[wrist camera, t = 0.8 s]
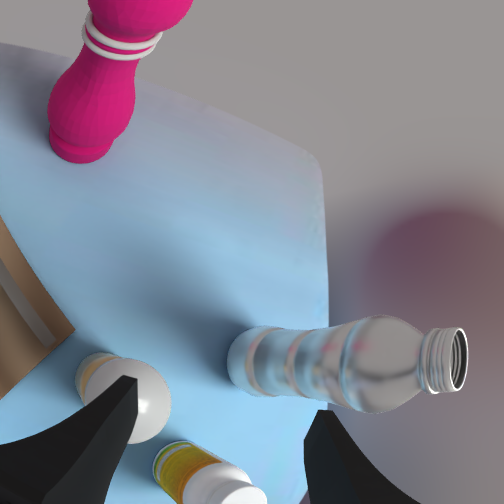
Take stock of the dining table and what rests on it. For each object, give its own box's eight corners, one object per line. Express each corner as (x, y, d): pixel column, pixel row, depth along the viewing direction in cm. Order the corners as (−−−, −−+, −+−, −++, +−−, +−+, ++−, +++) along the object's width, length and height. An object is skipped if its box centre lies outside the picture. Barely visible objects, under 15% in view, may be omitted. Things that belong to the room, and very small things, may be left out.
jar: (105, 424, 21) (132, 459, 14) (61, 378, 20) (67, 399, 14) (146, 384, 24) (187, 402, 17) (105, 337, 23) (130, 340, 16)
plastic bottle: (282, 375, 32) (477, 377, 16) (229, 404, 28) (444, 442, 12) (264, 317, 32) (464, 285, 17) (207, 341, 28) (431, 329, 12)
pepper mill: (69, 184, 23) (158, -29, 8) (30, 125, 22) (84, -88, 6) (132, 145, 28) (263, -26, 12) (93, 92, 26) (189, -85, 10)
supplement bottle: (142, 483, 21) (193, 539, 13) (163, 431, 23) (223, 470, 16) (195, 496, 23) (259, 543, 15) (215, 449, 25) (286, 482, 18)
